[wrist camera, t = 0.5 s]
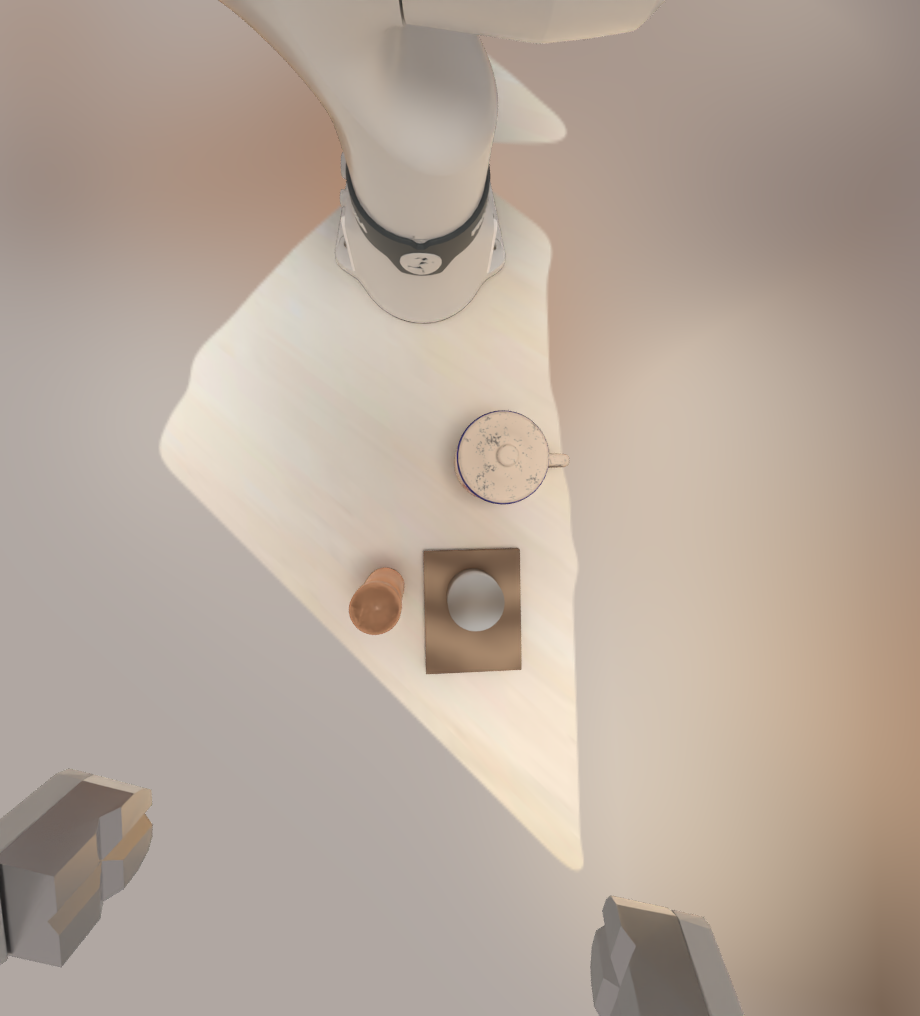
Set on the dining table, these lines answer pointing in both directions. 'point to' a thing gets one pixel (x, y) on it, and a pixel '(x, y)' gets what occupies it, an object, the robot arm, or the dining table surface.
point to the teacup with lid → (504, 457)
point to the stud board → (459, 639)
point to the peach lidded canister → (378, 602)
